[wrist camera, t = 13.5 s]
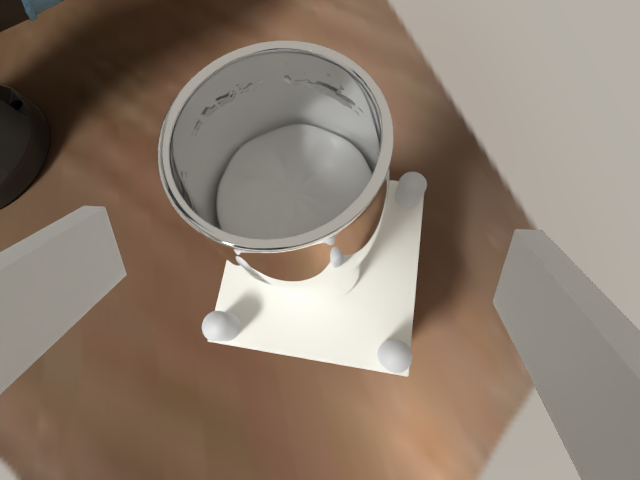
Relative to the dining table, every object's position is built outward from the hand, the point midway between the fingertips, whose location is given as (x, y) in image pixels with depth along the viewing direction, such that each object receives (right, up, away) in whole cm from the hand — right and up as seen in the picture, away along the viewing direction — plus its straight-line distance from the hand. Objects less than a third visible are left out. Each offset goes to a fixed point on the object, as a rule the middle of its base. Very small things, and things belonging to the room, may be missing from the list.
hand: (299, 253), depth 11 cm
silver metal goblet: (+1, -1, +13) cm, 13 cm away
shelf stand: (+1, -3, +20) cm, 20 cm away
